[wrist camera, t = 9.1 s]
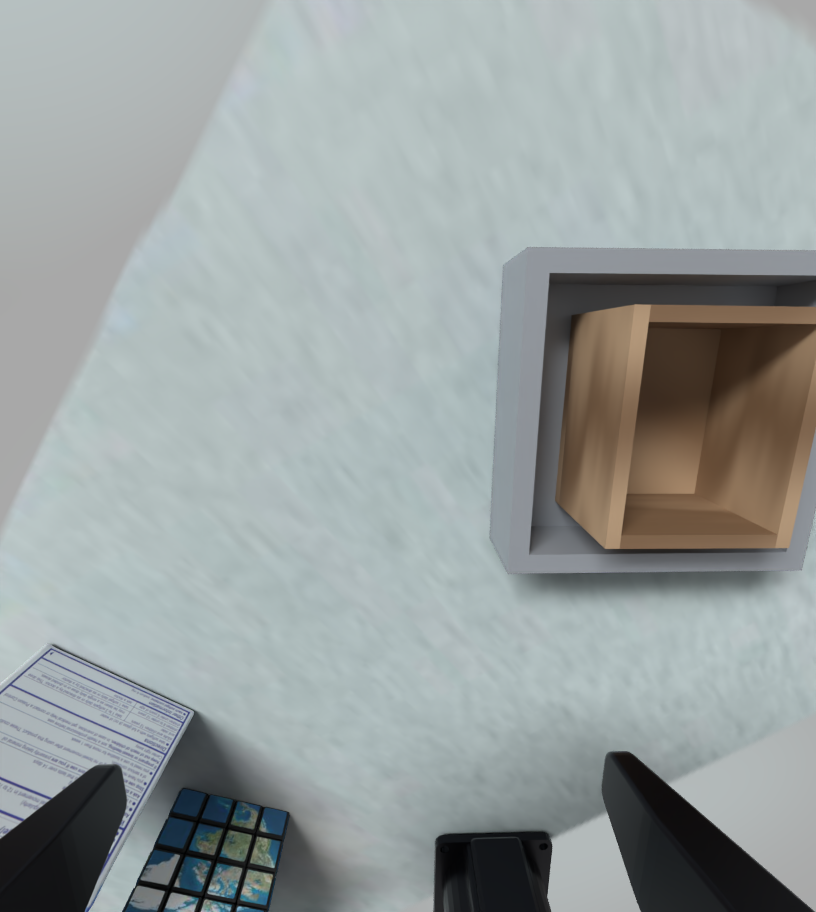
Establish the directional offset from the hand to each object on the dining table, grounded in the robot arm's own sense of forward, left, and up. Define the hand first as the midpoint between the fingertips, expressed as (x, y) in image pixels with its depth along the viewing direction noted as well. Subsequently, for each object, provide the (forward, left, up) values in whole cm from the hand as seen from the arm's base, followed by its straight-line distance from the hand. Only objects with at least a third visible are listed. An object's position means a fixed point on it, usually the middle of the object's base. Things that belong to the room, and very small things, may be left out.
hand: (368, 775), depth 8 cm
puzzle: (-19, +9, -13) cm, 25 cm away
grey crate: (+5, -11, -13) cm, 18 cm away
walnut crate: (+5, -11, -12) cm, 17 cm away
